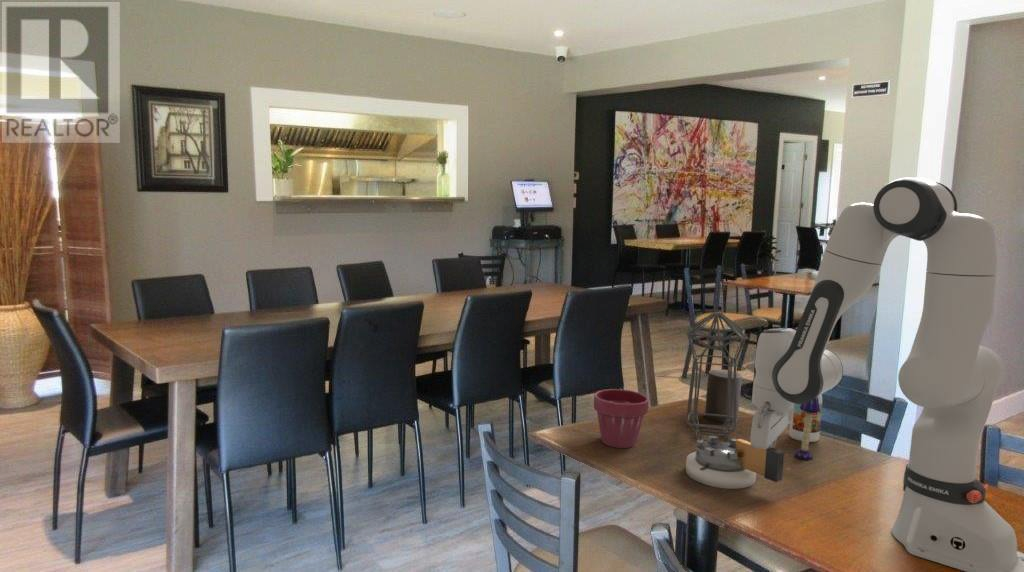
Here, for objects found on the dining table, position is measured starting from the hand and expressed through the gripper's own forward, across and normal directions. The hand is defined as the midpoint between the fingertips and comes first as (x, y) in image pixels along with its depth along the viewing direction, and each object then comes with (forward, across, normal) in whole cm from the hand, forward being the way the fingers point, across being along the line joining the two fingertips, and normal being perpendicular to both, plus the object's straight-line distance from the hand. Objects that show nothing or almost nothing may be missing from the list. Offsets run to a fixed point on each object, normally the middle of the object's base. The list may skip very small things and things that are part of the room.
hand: (768, 456), depth 160 cm
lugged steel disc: (+4, -2, +6) cm, 7 cm away
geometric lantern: (+7, +25, +22) cm, 34 cm away
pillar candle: (+7, +44, +24) cm, 50 cm away
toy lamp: (+7, +25, -3) cm, 26 cm away
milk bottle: (+7, +40, 0) cm, 41 cm away
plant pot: (+7, +4, +39) cm, 40 cm away
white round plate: (+7, 0, +10) cm, 13 cm away
